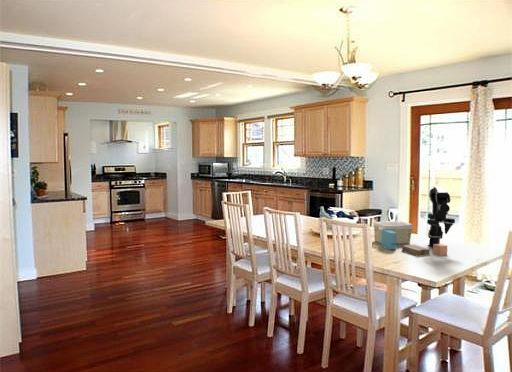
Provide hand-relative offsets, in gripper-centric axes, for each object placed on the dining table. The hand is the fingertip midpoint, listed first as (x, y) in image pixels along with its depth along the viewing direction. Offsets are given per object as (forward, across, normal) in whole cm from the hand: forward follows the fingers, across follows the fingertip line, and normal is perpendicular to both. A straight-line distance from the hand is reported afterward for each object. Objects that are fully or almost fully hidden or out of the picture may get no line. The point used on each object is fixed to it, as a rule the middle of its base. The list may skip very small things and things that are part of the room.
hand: (440, 234), depth 264 cm
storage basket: (+13, +6, -38) cm, 41 cm away
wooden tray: (+13, +13, -8) cm, 20 cm away
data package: (+13, +21, -25) cm, 35 cm away
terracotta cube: (+13, 0, 0) cm, 13 cm away
